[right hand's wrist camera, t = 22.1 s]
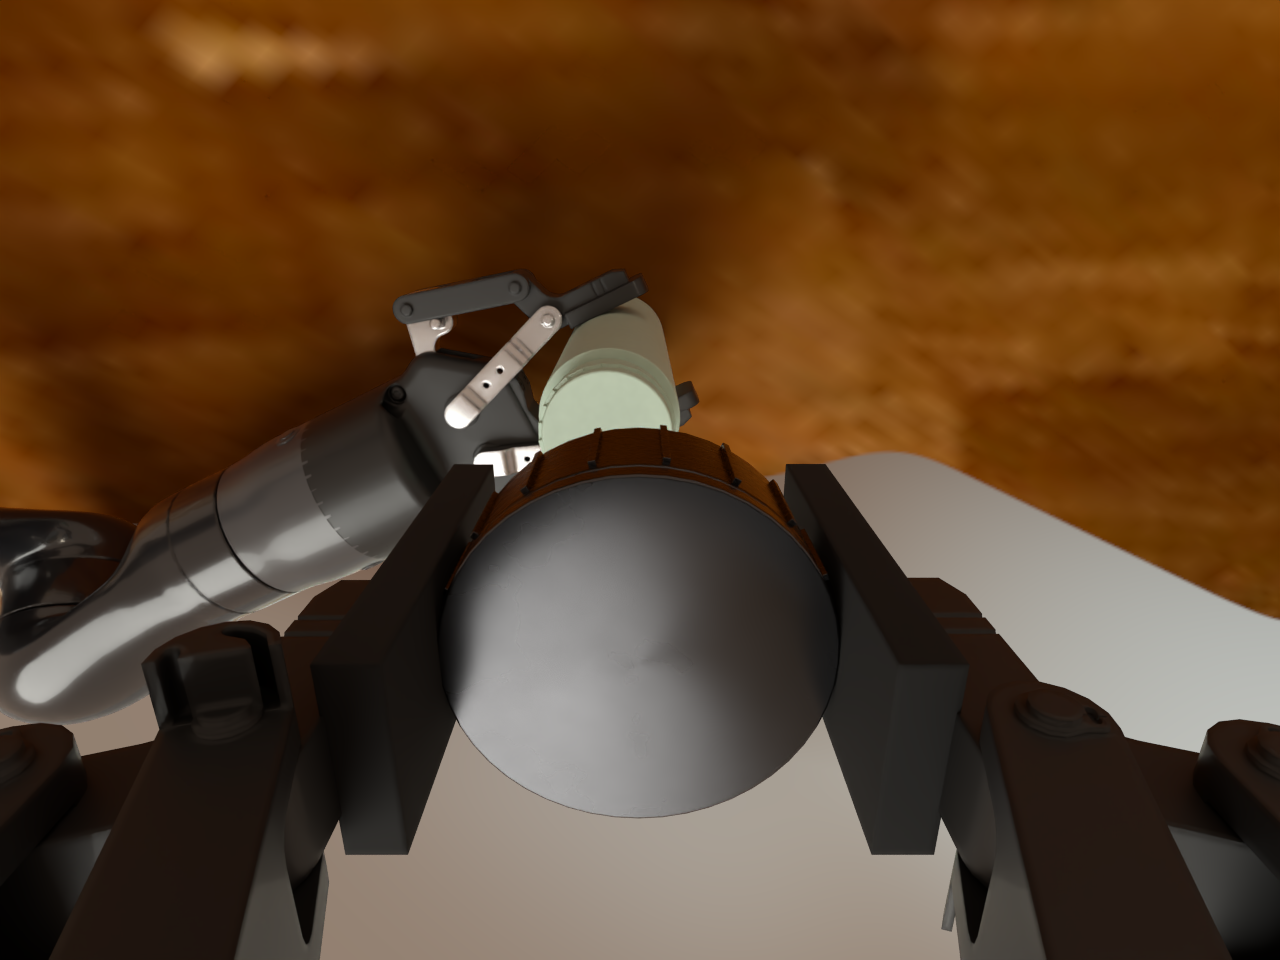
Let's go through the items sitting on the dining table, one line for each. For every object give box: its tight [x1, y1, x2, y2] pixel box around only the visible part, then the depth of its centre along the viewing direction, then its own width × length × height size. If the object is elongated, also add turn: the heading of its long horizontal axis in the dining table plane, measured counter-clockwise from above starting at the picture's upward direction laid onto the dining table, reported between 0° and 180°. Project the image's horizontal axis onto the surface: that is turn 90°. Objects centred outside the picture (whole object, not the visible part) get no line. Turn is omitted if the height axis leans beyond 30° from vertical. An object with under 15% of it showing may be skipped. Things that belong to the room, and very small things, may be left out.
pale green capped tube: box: [538, 298, 680, 454], centre depth 31 cm, size 5×5×17 cm
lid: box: [437, 425, 840, 818], centre depth 11 cm, size 6×6×2 cm
